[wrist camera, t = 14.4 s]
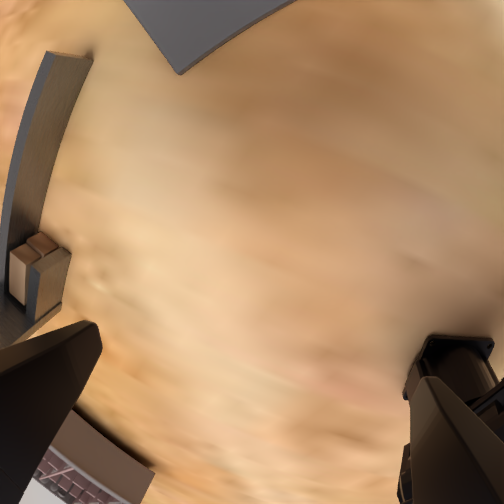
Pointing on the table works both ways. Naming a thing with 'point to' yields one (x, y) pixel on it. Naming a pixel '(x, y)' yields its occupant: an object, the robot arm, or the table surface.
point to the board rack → (37, 194)
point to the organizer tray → (90, 468)
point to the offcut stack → (27, 263)
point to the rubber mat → (198, 24)
